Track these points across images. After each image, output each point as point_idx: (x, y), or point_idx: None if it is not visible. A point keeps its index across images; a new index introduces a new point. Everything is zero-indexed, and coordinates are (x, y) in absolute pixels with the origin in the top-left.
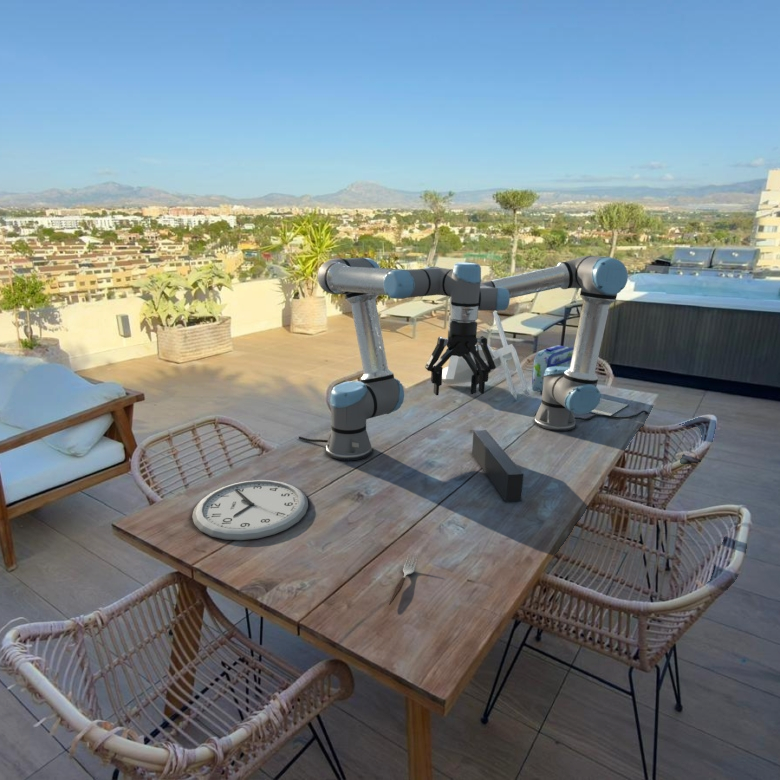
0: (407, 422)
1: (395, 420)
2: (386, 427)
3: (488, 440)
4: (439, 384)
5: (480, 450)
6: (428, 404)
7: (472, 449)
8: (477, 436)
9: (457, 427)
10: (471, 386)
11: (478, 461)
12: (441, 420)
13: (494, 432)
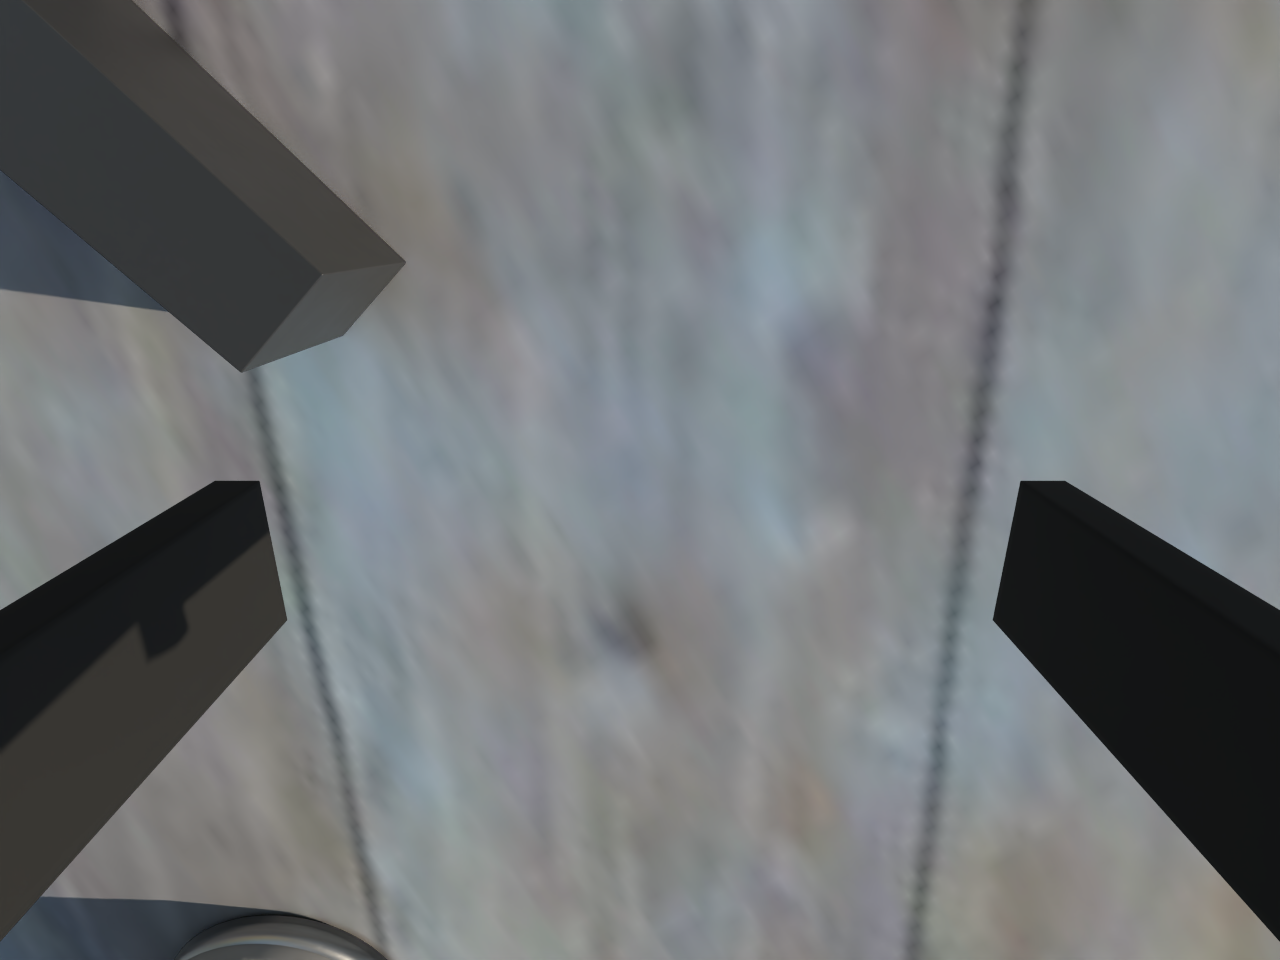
0: (1140, 495)
1: (1250, 472)
2: (1268, 291)
3: (28, 106)
4: (1023, 558)
5: (162, 79)
6: (1131, 866)
7: (388, 259)
8: (205, 162)
9: (755, 634)
10: (145, 552)
11: (257, 123)
12: (917, 677)
13: (499, 703)
